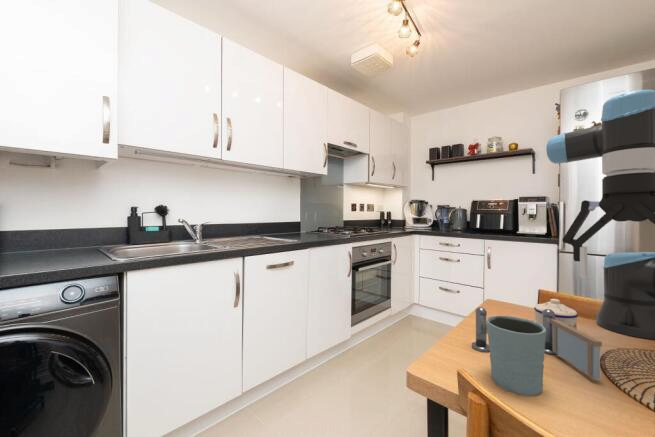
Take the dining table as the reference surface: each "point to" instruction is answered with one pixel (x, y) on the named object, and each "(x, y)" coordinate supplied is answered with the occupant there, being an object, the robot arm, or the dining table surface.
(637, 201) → the robot arm
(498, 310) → the dining table surface
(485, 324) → the post
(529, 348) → the blue-grey pot
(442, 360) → the dining table surface
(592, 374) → the gate
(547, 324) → the hinge post
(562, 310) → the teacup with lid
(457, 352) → the dining table surface
